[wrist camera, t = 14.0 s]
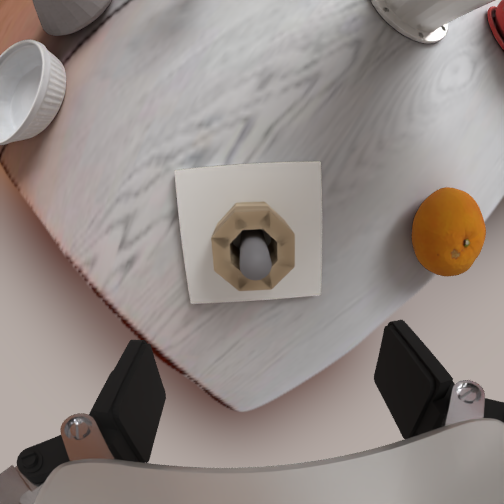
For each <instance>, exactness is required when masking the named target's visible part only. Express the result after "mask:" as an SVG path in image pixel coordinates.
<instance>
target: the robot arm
mask: <svg viewBox="0 0 504 504" xmlns="http://www.w3.org/2000/svg"><path fill="white" fill-rule="evenodd" d="M371 1H372V4H373V5H374V7H375V8H376V10H377V11H378V13H379V14H380V15H381V16H382V17H383V19H384V20H385V21H387V22H388V23H389V24H390V25H391V26H392V27H393V28H394V29H396V30H397V31H398V32H400V33H401V34H403V35H405V36H406V37H408V38H410V39H412V40H415V41H418V42H421V43H435V42H438V41H439V40H441V39H443V38H444V37H445V35H446V33H447V30H448V23H449V22H451V21H453V20H455V19H457V18H459V17H461V16H463V15H465V14H467V13H469V12H471V11H473V10H475V9H477V8H479V7H481V6H483V5H486V4H488V3H490V2H492V1H495V0H371ZM374 380H375V384H376V385H377V387H378V389H379V391H380V393H381V395H382V397H383V399H384V401H385V403H386V405H387V406H388V408H389V410H390V412H391V414H392V416H393V418H394V420H395V422H396V424H397V426H398V428H399V430H400V432H401V434H402V436H403V438H404V439H405V440H402V441H399V442H395V443H392V444H389V445H385V446H382V447H378V448H375V449H371V450H367V451H363V452H359V453H354V454H349V455H345V456H340V457H335V458H329V459H324V460H318V461H311V462H304V463H297V464H288V465H278V466H266V467H248V468H200V467H182V466H169V465H158V464H149V463H147V462H148V461H149V459H150V455H151V451H152V447H153V443H154V439H155V436H156V432H157V428H158V425H159V421H160V417H161V414H162V410H163V406H164V403H165V399H166V394H165V390H164V387H163V384H162V381H161V378H160V375H159V372H158V368H157V365H156V362H155V359H154V355H153V352H152V348H151V345H150V344H147V343H146V341H145V340H130V342H129V343H128V345H127V347H126V349H125V351H124V353H123V354H122V356H121V358H120V360H119V361H118V364H117V365H116V367H115V369H114V371H112V372H111V374H110V375H109V377H108V379H107V381H106V383H105V385H104V387H103V389H102V390H101V392H100V394H99V396H98V398H97V400H96V402H95V404H94V406H93V408H92V410H91V412H90V414H89V415H87V414H74V415H72V416H70V417H68V418H67V419H66V420H65V421H64V422H63V424H62V426H61V435H59V436H57V437H55V438H52V439H50V440H47V441H45V442H42V443H40V444H37V445H35V446H32V447H29V448H27V449H25V450H23V451H22V452H21V453H20V455H19V456H18V459H17V466H16V467H14V466H13V465H12V466H10V467H9V468H8V469H6V470H5V471H3V472H2V473H1V474H0V504H504V402H499V401H495V400H490V399H486V398H485V393H484V390H483V388H482V387H481V386H480V385H479V384H477V383H476V382H473V381H470V380H463V381H459V382H458V383H456V384H454V382H453V381H452V380H453V378H452V377H451V376H450V374H449V373H448V372H447V371H446V369H445V368H444V367H443V366H442V365H441V363H440V362H439V361H438V360H437V359H436V357H435V356H434V355H433V354H432V353H431V351H430V350H429V349H428V348H427V347H426V346H425V345H424V343H423V342H422V341H421V340H420V339H419V337H418V336H417V335H416V334H415V333H414V332H413V331H412V330H411V328H410V327H409V326H408V325H407V324H406V323H405V322H404V321H403V320H398V321H392V322H389V324H388V326H385V328H384V333H383V338H382V343H381V348H380V353H379V357H378V362H377V366H376V370H375V374H374Z"/></svg>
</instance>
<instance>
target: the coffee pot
mask: <svg viewBox="0 0 504 504" xmlns="http://www.w3.org/2000/svg"><path fill="white" fill-rule="evenodd" d="M111 1H112V0H33V3H34V6H35V9H36V12H37V14H38V17H39V20H40V22H41V25H42V28H43V30H44V31H45V32H46V33H48V34H50V35H54V36H60V35H68V34H71V33H74V32H77V31H79V30H80V29H82V28H84V27H86V26H87V25H89V24H90V23H92V22H93V21H94V20H96V19H97V18H98V17H99V16H100V15H101V14H102V13H103V12H104V10H105V9H106V8H107V7H108V5H109V4H110V2H111Z"/></svg>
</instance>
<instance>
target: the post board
mask: <svg viewBox="0 0 504 504" xmlns="http://www.w3.org/2000/svg"><path fill="white" fill-rule="evenodd" d="M174 173H175V184H176V195H177V205H178V214H179V223H180V232H181V240H182V248H183V256H184V263H185V270H186V277H187V284H188V290H189V297H190V303H191V304H202V303H223V302H241V301H256V300H270V299H284V298H296V297H307V296H318V295H321V275H322V182H321V161H303V162H270V163H251V164H235V165H222V166H210V167H200V168H190V169H181V170H174ZM242 202H266V203H267V204H268V205H269V206H270V207H271V208H272V209H273V210H274V211H275V212H277V213H278V214H279V215H280V216H281V217H282V218H283V219H284V220H285V221H286V223H287V224H288V225H289V227H290V228H291V229H292V231H293V232H294V234H295V267H294V268H293V269H292V270H291V271H290V272H289V273H288V274H287V275H286V276H285V277H284V278H283V279H282V280H281V281H280V282H279V283H278V284H277V285H276V286H275V287H274V288H273V289H272V290H253V291H238V290H237V289H236V288H234V287H233V286H232V285H231V284H230V283H228V282H227V281H226V280H225V279H223V278H222V277H221V276H220V275H219V274H217V273H216V272H215V271H214V266H213V254H212V242H211V237H212V235H213V232H214V230H215V228H216V225H217V223H218V222H219V221H220V220H221V219H222V218H223V217H224V216H225V214H226V213H227V212H228V211H229V210H230V209H231V208H232V207H233V206H234V205H235V203H242ZM270 243H271V236H270V235H269V234H268V233H267V232H266V231H264V230H263V229H254V230H242V231H241V233H240V234H239V235H238V236H237V237H236V238H235V239H234V240H233V244H234V245H235V246H236V247H237V248H238V249H239V250H240V270H241V272H242V274H243V275H244V276H245V277H246V278H248V279H250V280H261V279H263V278H265V277H266V276H267V275H268V274H269V273H270V271H271V268H272V262H271V259H270V255H269V252H268V248H267V246H268V245H269V244H270Z"/></svg>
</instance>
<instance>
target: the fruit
mask: <svg viewBox="0 0 504 504" xmlns="http://www.w3.org/2000/svg"><path fill="white" fill-rule="evenodd" d="M485 235H486V229H485V223H484V220H483V217H482V214H481V211H480V209H479V207H478V205H477V203H476V202H475V200H474V199H473V198H472V197H471V196H470V195H469V194H468V193H466V192H464V191H461V190H458V189H455V188H441V189H439V190H437V191H435V192H434V193H432V194H431V195H430V196H429V197H428V198H426V199H425V200H424V202H423V203H422V204H421V206H420V207H419V209H418V211H417V212H416V215H415V217H414V220H413V225H412V244H413V248H414V251H415V254H416V257H417V259H418V261H419V262H420V263H421V264H422V265H423V266H424V267H425V268H426V269H427V270H429V271H431V272H433V273H435V274H437V275H441V276H454V275H459V274H461V273H464V272H465V271H467V270H468V269H469V268H470V267H471V265H472V264H473V262H474V261H475V259H476V258H477V257H478V255H479V254H480V252H481V249H482V246H483V243H484V240H485Z"/></svg>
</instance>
